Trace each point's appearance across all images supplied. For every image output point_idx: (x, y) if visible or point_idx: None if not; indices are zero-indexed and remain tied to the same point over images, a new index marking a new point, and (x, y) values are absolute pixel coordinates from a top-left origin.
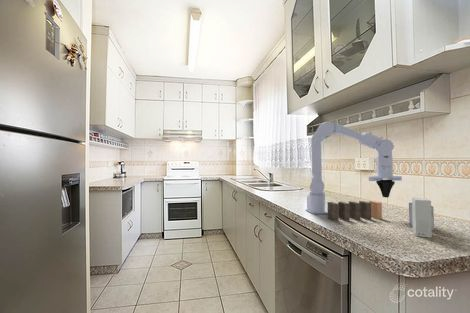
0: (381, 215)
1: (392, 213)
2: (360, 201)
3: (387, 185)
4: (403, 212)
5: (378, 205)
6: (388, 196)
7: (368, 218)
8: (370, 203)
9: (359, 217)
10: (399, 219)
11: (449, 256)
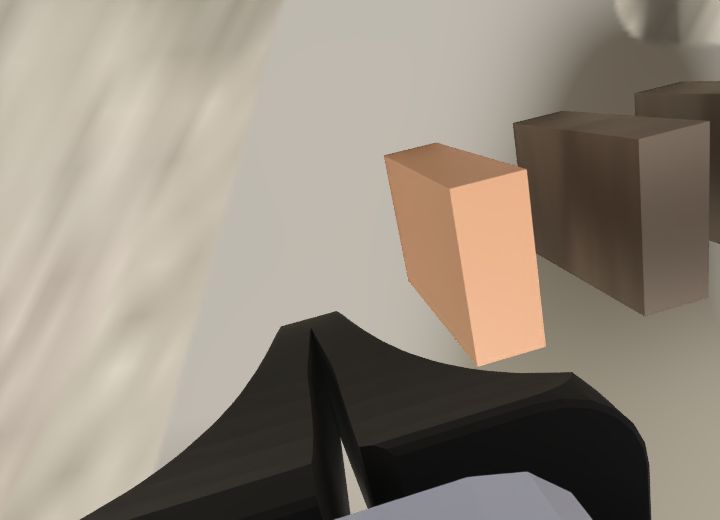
0: (399, 159)
1: (115, 457)
2: (705, 270)
3: (405, 399)
4: None
5: (487, 168)
6: (288, 328)
7: (551, 115)
8: (641, 136)
9: (663, 90)
10: (185, 148)
11: None
